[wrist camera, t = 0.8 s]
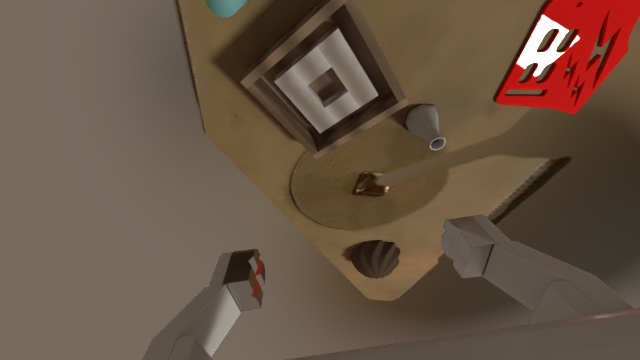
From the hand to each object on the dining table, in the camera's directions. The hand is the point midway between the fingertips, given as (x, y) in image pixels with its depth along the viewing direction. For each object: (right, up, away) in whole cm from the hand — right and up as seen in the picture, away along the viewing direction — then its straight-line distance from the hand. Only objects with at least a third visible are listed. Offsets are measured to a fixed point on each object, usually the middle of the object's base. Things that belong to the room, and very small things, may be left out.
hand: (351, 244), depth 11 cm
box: (0, +23, +38) cm, 44 cm away
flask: (+21, +17, +45) cm, 52 cm away
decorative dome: (+21, -26, +87) cm, 93 cm away
